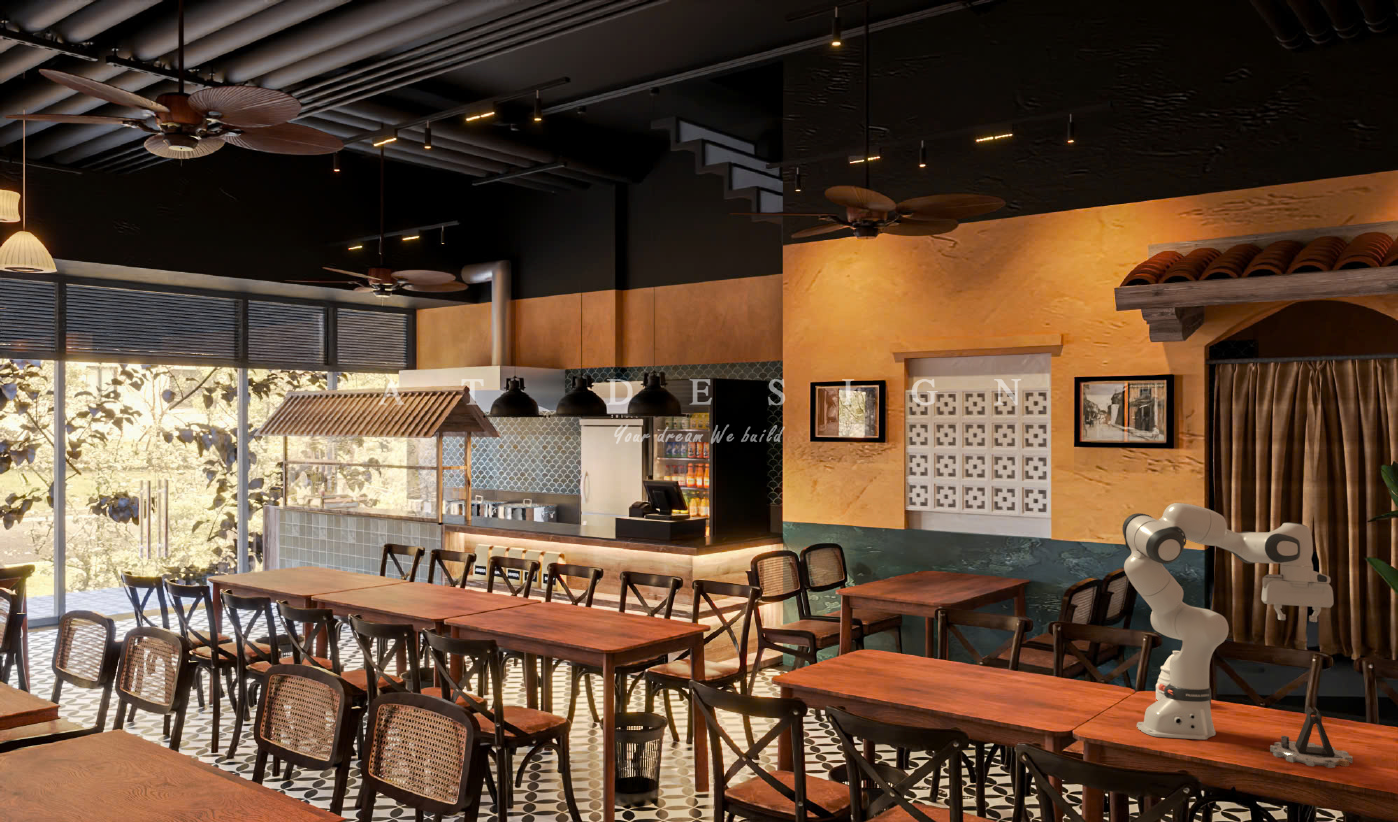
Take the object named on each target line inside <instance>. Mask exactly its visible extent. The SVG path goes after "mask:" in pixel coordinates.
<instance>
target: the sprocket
mask: <svg viewBox="0 0 1398 822" xmlns="http://www.w3.org/2000/svg"><path fill="white" fill-rule="evenodd" d="M1296 742H1297V741H1295V740H1294V741H1293V740H1292V741H1291V740H1290V736H1288V735H1281V736H1280V741H1277V742H1274V745H1272V744H1271V745H1270V746H1269V748H1270V751H1269V752H1270V753H1272V755H1273V756H1274V757H1275V758H1283V759H1285V761H1286V762H1290V763H1299V764H1300V763H1301V764H1305V765H1306V766H1309V767H1315V766H1323V767H1324V766H1325V767H1326V768H1336V766H1340V765H1341V766H1340V767H1345V768H1346V767H1350V764H1354V763H1353V755H1349V752H1347V751H1346V750H1337V749H1335V748H1336V747H1334V746H1332V749H1333V751H1334V754H1335V756H1329V755H1319V754H1309V753H1299V752H1298V750H1297V748H1296V747H1295V744H1296ZM1307 747H1315V748H1323V745H1321V744H1320V745H1319V744H1316V742H1308V745H1307ZM1349 762H1350V763H1349Z"/></svg>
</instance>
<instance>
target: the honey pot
mask: <svg viewBox="0 0 1398 822" xmlns="http://www.w3.org/2000/svg"><path fill="white" fill-rule="evenodd" d="M1180 651H1181V650H1172V654H1171V655H1169V656H1168V658H1167V659H1166V661H1165V662H1164V664H1163V665H1160V670H1161V671H1160V674H1158V679H1157V682H1156V684H1155V700H1156V699H1157V700H1159V699H1160V698H1162V697H1163V696H1164V691H1161V690H1159V689H1158V687H1159V686H1158V685H1159V684H1163V685H1165V686H1168V685H1169V684H1170V660H1171V658H1172V657H1173V656H1174V655H1176V654H1178V653H1179V652H1180Z"/></svg>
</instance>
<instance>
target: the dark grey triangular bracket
mask: <svg viewBox="0 0 1398 822" xmlns="http://www.w3.org/2000/svg"><path fill="white" fill-rule="evenodd" d="M1315 711H1316V713H1315ZM1314 713H1315V715H1313V714H1314ZM1305 714H1306V717H1305V720H1304V722H1303V725H1302V727H1301V729H1300V733H1299V734H1298V736H1297V739H1296V741H1295V742H1296V744H1295V747H1296V748H1297V750H1298V752H1299V753H1309V754H1319V755H1329V756H1335V754H1334V751H1333V749H1332V747H1333V746H1332V744H1331V742H1330V740H1329V737H1328V735H1327V732H1326V730H1325V728H1324V725H1323V722H1322V718H1323V715H1322V714H1321V713H1320V711H1319V710H1318V708H1316V707H1315V706H1313V708H1312V707H1311V706H1308V707H1306V709H1305ZM1314 725H1316V728H1317V732H1318V735H1319V738H1320V741H1321V746H1323V748H1315V747H1307V745H1308V742H1309V741H1310V738H1311V734H1312V731H1313V728H1314ZM1309 743H1310V742H1309Z"/></svg>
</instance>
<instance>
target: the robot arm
mask: <svg viewBox="0 0 1398 822" xmlns="http://www.w3.org/2000/svg"><path fill="white" fill-rule="evenodd" d="M1121 530H1122V535H1123V538H1124V544H1125V548H1126V549H1127V550H1128V551H1130V552H1131V554H1130V555H1129V556H1128V557H1127V558H1126V559H1125V561H1124V564H1123V570H1124V572H1125V575H1126V577H1127V579H1128V580H1129V582H1130V583H1131V585H1132V587H1134V589H1135V590H1136V592H1137V593H1138V594H1139V595H1140V597H1142V599H1143V600H1144V601H1145V602H1146V603H1147V606H1149V607H1150V609H1151V610H1152V611H1151V614H1150V624H1151V627H1152V629H1153V630H1154V631H1156V632H1157V633H1159V634H1161V635H1163V636H1165V637H1167V638H1171V639H1175V640H1179V641H1182V643H1181V644H1182V646H1181V649H1180V650H1179V651H1180V652H1179V653H1178V654H1176V655H1174V656H1173V657H1172V658H1171V660H1170V684H1169V685H1168V686H1165V685H1163V684H1159V685H1158V686H1159V687H1158V689H1159V690H1161V691H1164V696H1163V697H1162V698H1160V699H1159V700H1158V701H1156V700H1155V702H1152V704H1150V705H1149V706H1148V707H1147V708H1146V709H1145V712H1144V719H1143V721H1137V722H1136V728H1137V727H1138V728H1137V729H1138V730H1139V731H1140V730H1141V731H1140V732H1142V733H1144V734H1147V735H1149V736H1151V737H1154V738H1169V739H1170V738H1171V739H1173V738H1174V739H1191V740H1204V741H1205V740H1208V739H1209V738H1211V737H1214V736H1216V734H1217V732H1216V730H1215V727H1214V722H1213V718H1212V711H1211V705H1212V689H1211V687H1210V664H1211V659H1212V656H1213V653H1214V652H1215V650H1216V649H1217V647H1219V646H1220V645H1221V644H1222V643H1224V642H1225V640H1227V637H1228V635H1229V631H1230V628H1229V623H1228V621H1227V619H1226V617H1225V616H1223V615H1222V614H1220V613H1218V612H1216V611H1213V610H1211V609H1208V608H1201V607H1195V606H1192V605H1189V604H1187V603H1185V602H1183V599H1184V593H1185V592H1184V590H1183V587H1182V586H1181V584H1179V582H1177V579H1175V578H1174V576H1173V575H1172V574H1171V573H1170V572H1169V571H1168V569H1167V568H1166V567H1165V566H1164V565H1163V564H1165V565H1166V564H1167V565H1168V564H1172V563H1173V562H1176V561H1177V560H1178V558H1180V556H1181V555H1182V553H1183V551H1184V547H1185V546H1186V545H1187V541H1189V542H1192V543H1194V544H1199V545H1202V546H1203V545H1205V546H1213V547H1217V548H1220V549H1223V550H1225V551H1228V552H1229V553H1231V554H1232V555H1234V556H1235V557H1236V558H1237V559H1238V560H1240V561H1241V562H1243V563H1245V564H1274V565H1275V564H1280V565H1279V566H1280V570H1279V571H1280V574H1271V573H1267V574H1266V575H1264V576H1263V577H1262V579H1261V583H1262V590H1261V601H1262V603H1263V604H1266V605H1273V609H1274V610H1275V613H1276V614H1277V619H1278V620H1280V621H1286V619H1287V618H1286V616H1287V615H1286V614H1284V613H1283V612H1282V610H1281V609H1283V606H1295V607H1296V606H1297V607H1299V606H1300V607H1312V610H1313V613H1312V614H1311V615H1309V616H1308V619H1309V620H1308V621H1309V622H1313V623H1317V622H1318V616H1319V615H1320V613H1321V612H1322V608H1330V609H1331V608H1332V607H1333V606H1334V591H1333V587H1332V586H1331V585H1330V583H1331V576H1328V575H1326V574H1323V573H1321V572H1318V571H1315V570H1314V564H1313V561H1312V558H1313V554H1314V547H1313V546H1314V545H1313V544H1314V543H1313V536H1312V532H1311V529H1310V528H1309V526H1307V525H1305V524H1303V523H1298V522H1297V523H1295V522H1283V523H1282V525H1281V526H1279V527H1277V528H1276V529H1273V530H1271V531H1269V532H1268V531H1266V532H1261V531H1260V532H1259V531H1258V532H1255V531H1241V532H1236V531H1233V530H1231V529H1228V524H1227V521H1226V519H1225V517H1224V516H1223V515H1222V514H1220V513H1218V512H1216V511H1214V510H1211V509H1210V508H1206V507H1202V506H1198V505H1195V504H1191V503H1182V502H1175V503H1171V504H1169V505H1168V506H1167V507H1166V508H1165V509H1164V511H1163V513H1162V516H1161V517H1159V518H1158V519H1156V518H1155V517H1154V518H1153V516H1152V515H1149V514H1145V513H1139V512H1137V513H1132V514H1131V515H1129V516H1128V517H1126V518H1125V520H1124V522H1123V524H1122V529H1121Z"/></svg>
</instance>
